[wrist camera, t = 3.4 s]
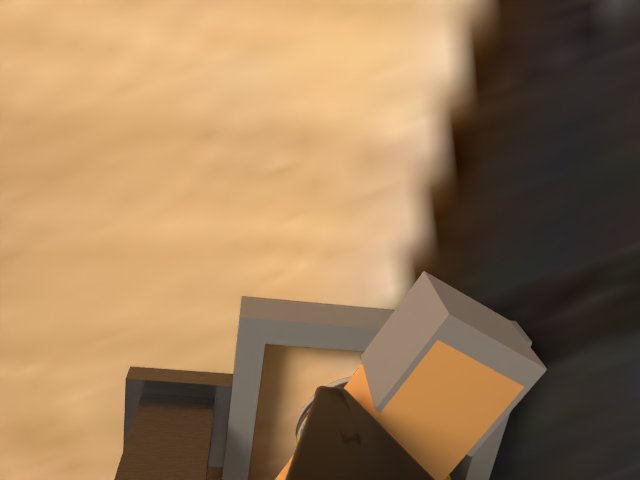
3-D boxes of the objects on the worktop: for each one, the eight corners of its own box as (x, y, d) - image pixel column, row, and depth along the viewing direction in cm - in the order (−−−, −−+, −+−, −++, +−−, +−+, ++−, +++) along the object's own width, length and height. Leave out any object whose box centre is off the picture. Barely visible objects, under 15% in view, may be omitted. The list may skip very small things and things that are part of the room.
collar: (454, 526, 28) (464, 555, 27) (217, 516, 27) (214, 546, 25) (515, 320, 24) (532, 342, 23) (241, 296, 23) (240, 316, 21)
